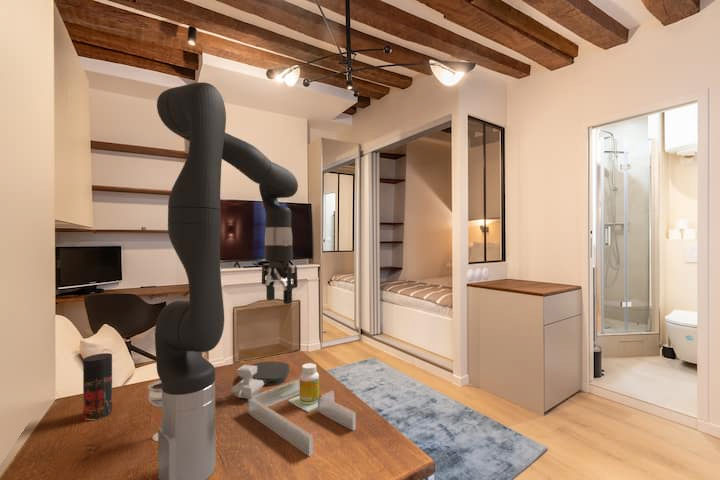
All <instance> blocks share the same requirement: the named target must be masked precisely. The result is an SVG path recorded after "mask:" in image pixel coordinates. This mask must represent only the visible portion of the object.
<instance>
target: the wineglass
mask: <svg viewBox="0 0 720 480" xmlns="http://www.w3.org/2000/svg"><path fill="white" fill-rule="evenodd" d="M147 388H148V389H149V391H148V394H147V399H148V401H149V403H151V404H152V405H153V406H155V407H160V408H161V409H162V382H161V380H160V379H157V380H154V381H152V382H151V383H149V384H148V386H147ZM152 440H153V441H155V442H158V432H156V433H154V434H153V436H152Z"/></svg>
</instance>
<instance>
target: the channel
mask: <svg viewBox="0 0 720 480" xmlns="http://www.w3.org/2000/svg"><path fill="white" fill-rule="evenodd" d="M297 395H298V396H299V395H300V378H297V379H295V380H292V381H289V382H287V383H284V384H281V385H279V386H275V387H273V388H271V389H268V390H265V391H262V392H259V393H258V394H256V395H254V396H251V397H248V398H247V399H246V400H247V401H246V402H247V403H246V404H247V410H246V411H247V414H248V415H250V416H251V417H252V418H254V419H255V420H256V421H258V422H259V423H261V424H262V425H264V426H265V427H266V428H268V429H269V430H271V431H272V432H274V434H276V435H278V437H281V438H282V439H283V440H285V441H286V442H287V443H289V444H291V445H292V446H294V447H295V448H296V449H298V450H299V451H300V452H302V454H303V453H304V454H305V456H308V457H311V456H313V454H314V436H313V434H311V433H310V432H308V431H306V430H305V429H303V428H302V427H301V426H299V425H297V424H295V423H294V422H292V421H290V419H288V418H286V417H284V416H283V415H281V414H279V413H278V412H276V411H275V410H273V409H271V408H270V407H271V406H273V405H276V404H279V403H281V402H283V401H286V400H289V399H292V398H294V397H297ZM317 412H318V413H319V414H321V415H323V416H325V417H326V418H328V419H330V420H332V421H334V422H335V423H338V424H340V425H341V426H343V427H345V428H347V429H349V430H351V431H355V430H356V428H357V427H356V426H357V420H356V419H357V414H356V413H357V412H356V411H353V410H352V409H350V408H348V407H346V406H343V405H342V404H340V403H337V402H335V391H334V390H329V391H328V392H326V393H323V394H321V395H320V394H319V396H318V408H317Z"/></svg>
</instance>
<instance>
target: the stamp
mask: <svg viewBox="0 0 720 480" xmlns="http://www.w3.org/2000/svg"><path fill="white" fill-rule="evenodd" d="M236 372H237V374H238V376H239V378H240V377H243V378H244V380H242V381H240V380H239V382H237V383H236V384H234V385H233V386H232V387H231V393H232V394H233V395H234V396H236V398H241V399H246V400H247V398H248V397H251V396H254V395H256V394H259V393H260V392H261V390H262V389H263V387H264V386H263V385H264V382H263V381H262V380H257V379H253V378H252V377H253V375H254V374H256V373H257V366H253V365H252V364H243V365H242V366H240V367H239V368H238V369H236Z"/></svg>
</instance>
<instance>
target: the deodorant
mask: <svg viewBox="0 0 720 480" xmlns="http://www.w3.org/2000/svg"><path fill="white" fill-rule="evenodd" d="M82 361H83V364H82V367H83V368H82V370H83V373H82V375H83V376H82V378H83V379H82V383H83V386H82V387H83V388H82V389H83V390H82V392H83V393H82V394H83V395H82V397H83V398H82V399H83V400H82V401H83V407H82V408H83V409H82V411H83V412H82V413H83V414H82V415H83V417H82V418H84V419H97V420H99V419H98V418H101V419H103V418H102V417H104V418H105V416H106V417H107V416H110V415H111V414H112V413H111V412H113V353H107V352H106V353H104V352H103V353H95V354H93V355H89V356H86V357H84V358H83V360H82ZM110 413H111V414H110ZM84 419H83V420H84Z"/></svg>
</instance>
